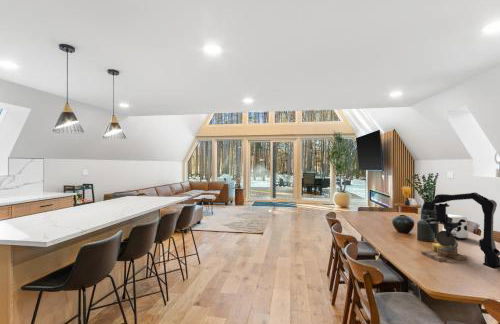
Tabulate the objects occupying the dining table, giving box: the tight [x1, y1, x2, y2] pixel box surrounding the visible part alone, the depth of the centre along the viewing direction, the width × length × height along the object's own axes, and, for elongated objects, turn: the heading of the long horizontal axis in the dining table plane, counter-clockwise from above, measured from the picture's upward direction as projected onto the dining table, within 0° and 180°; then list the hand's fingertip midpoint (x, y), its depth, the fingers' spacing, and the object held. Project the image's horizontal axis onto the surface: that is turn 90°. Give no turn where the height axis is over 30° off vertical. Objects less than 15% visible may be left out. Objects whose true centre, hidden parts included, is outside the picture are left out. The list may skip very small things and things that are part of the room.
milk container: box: [441, 213, 469, 240], centre depth 220 cm, size 17×17×18 cm
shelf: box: [420, 247, 467, 262], centre depth 173 cm, size 14×20×7 cm
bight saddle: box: [431, 242, 444, 253], centre depth 177 cm, size 5×4×5 cm
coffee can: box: [435, 230, 459, 248], centre depth 180 cm, size 10×10×14 cm
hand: (441, 235), depth 179 cm, fingers open, 9 cm apart
